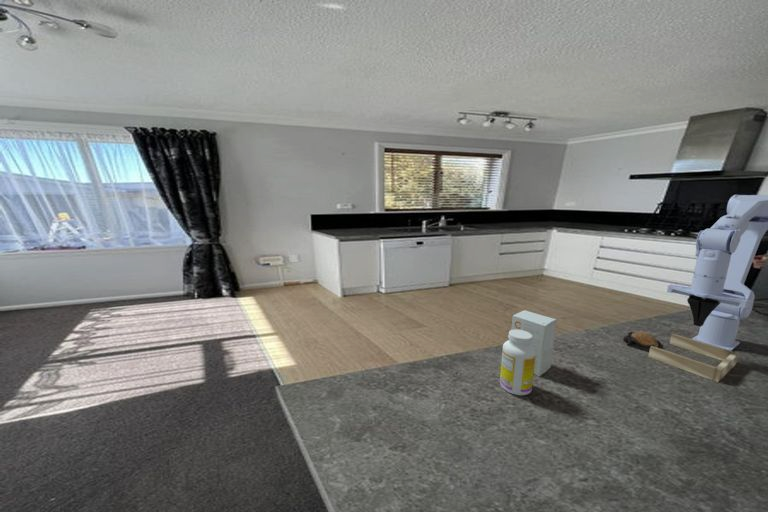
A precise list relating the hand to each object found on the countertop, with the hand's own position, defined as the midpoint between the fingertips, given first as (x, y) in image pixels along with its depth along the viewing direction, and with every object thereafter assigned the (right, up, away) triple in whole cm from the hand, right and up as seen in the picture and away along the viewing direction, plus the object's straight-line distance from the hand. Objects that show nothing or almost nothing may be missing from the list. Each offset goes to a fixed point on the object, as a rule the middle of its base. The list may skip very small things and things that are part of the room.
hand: (698, 325), depth 80 cm
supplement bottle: (-54, -11, -13) cm, 57 cm away
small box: (-47, -10, -4) cm, 48 cm away
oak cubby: (-2, -9, -1) cm, 10 cm away
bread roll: (-8, -8, +9) cm, 14 cm away
